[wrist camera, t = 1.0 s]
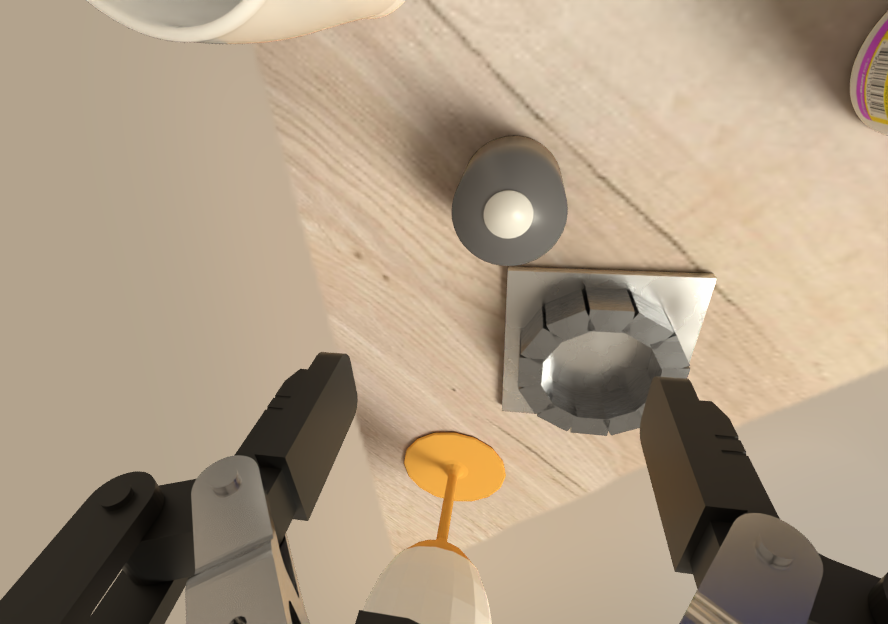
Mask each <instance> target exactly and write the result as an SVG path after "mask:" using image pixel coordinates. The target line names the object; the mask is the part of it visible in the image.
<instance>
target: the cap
mask: <svg viewBox="0 0 888 624" xmlns="http://www.w3.org/2000/svg"><path fill="white" fill-rule="evenodd" d="M567 210H568V207H567V199H566V194H565V190H564V185H563V181H562V176H561V172H560V168H559V166H558V163H557V161H556V159H555V158H554V156H553V155H552V153H551V152H550V151H549V150H548V149H547V148H546V147H545V146H543V145H542V144H541V143H539V142H537V141H535V140H533V139H530V138H527V137H523V136H505V137H500V138H498V139H495V140H492V141H491V142H489V143H487V144H485V145H484V146H483V147H481V148H480V149H479V150H478V151H477V152H476V153H475V154H474V156H473V157H472V158H471V160H470V162H469V163H468V165H467V168H466V170H465V172H464V174H463V176H462V179H461V181H460V183H459V185H458V188H457V190H456V192H455V195H454V198H453V203H452V221H453V225H454V228H455V231H456V234H457V236H458V237H459V239H460V241H461V242H462V244H463V245H464V246H465V247H466V248H467V249H468V250H469V251H470V252H471V253H472V254H473V255H475V256H476V257H478V258H479V259H482V260H484V261H486V262H489V263H491V264H495V265H501V266H516V265H522V264H526V263H529V262H531V261H534V260H536V259H538V258H539V257H541V256H543V255H544V254H545V253H547V252H548V251H549V250H550V249H551V248H552V247H553V246H554V245H555V244H556V242H557V241H558V239H559V238H560V236H561V234H562V232H563V230H564V227H565V224H566V220H567Z"/></svg>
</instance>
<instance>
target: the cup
mask: <svg viewBox="0 0 888 624" xmlns="http://www.w3.org/2000/svg"><path fill="white" fill-rule="evenodd" d="M404 464H405V467H406V470H407V473H408V475H409V477H410V478H411V479H412V480H413V481H414V482H415V483H416V484H417V485H418V486H419V487H420V488H422V489H423V490H425V491H427V492H429V493H431V494H432V495H434V496H437V497H440V498H444V501H443V506H442V512H441V517H440V523H439V528H438V534H437V539H436V540H425V541H421V542H418V543H416V544H415V545H413V546H411V547H409V548H407V549H404V550H403V551H402V552H400V553H399V554H398V555H396V556H395V558H394V559H393V560H392V561H391V562H390V564H389V565H388V566H387V567H386V568H385V570H384V571H383V572H382V573H381V575H380V577H379V578H378V580H377V582H376V584H375V586H374V587H373V589H372V591H371V593H370V595H369V597H368V598H367V601H366V604H365V606H364V609H363V611H368V612H374V613H380V614H386V615H392V616H398V617H404V618H409V619H411V620H413V621H415V622H417V623H419V624H492V621H491V615H490V609H489V603H488V599H487V596H486V592H485V589H484V587H483V583H482V581H481V578H480V575H479V572H478V569H477V568H476V567H475V566H474V565H473V564H472V562H471V561H470V560H469V559H468V558H467V556H466V555H465V554H464V553H463V552H462V551H461V550H460V549H459V548H458V547H456V546H454V545H452V544H450V543H448V542H447V539H448V532H449V526H450V520H451V514H452V507H453V501H475V500H479V499H482V498H486V497H489V496H490V495H492V494H493V493H494V492H496V491H497V490H498V489H500V488H501V485H502V483H503V481H504V478H505V476H506V474H505V469H504V464H503V461H502V459H501V458H500V457H499V456H498V454H497V453H496V452H495V451H494V450H493V448H491V447H490V446H488V445H486V444H485V443H483V442H481V441H480V440H478V439H476V438H474V437H470V436H467V435H463V434H459V433H455V432H449V433H432V434H429V435H427V436H424V437H421V438H418V439H417V440H416V441H415V442H414V443H413V444H412V445H410V446H409V447H408V448H407V451H406V455H405V460H404Z"/></svg>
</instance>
